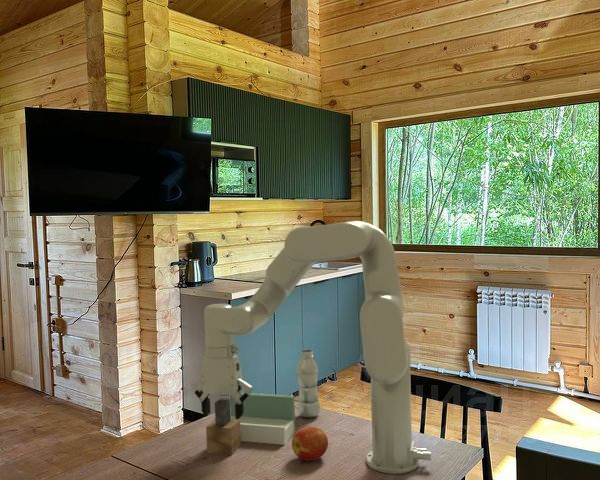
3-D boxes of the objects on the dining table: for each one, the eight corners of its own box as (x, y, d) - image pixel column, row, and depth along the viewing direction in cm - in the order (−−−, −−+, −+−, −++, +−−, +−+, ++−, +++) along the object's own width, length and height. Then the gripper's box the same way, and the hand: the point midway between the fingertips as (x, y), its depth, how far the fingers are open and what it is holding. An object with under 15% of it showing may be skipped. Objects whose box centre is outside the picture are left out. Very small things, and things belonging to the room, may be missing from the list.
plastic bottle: (318, 420, 161) (316, 353, 160) (296, 419, 163) (293, 353, 162) (321, 412, 168) (319, 348, 167) (300, 411, 169) (298, 348, 168)
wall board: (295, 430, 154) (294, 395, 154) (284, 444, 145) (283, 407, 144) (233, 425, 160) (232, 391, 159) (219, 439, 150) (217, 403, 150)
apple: (288, 456, 138) (287, 425, 137) (317, 449, 141) (316, 419, 141) (303, 469, 130) (302, 436, 130) (333, 461, 134) (332, 429, 134)
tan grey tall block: (240, 445, 145) (239, 397, 145) (232, 455, 140) (230, 405, 139) (216, 443, 147) (214, 396, 147) (207, 452, 142) (205, 403, 141)
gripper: (256, 349, 144) (258, 413, 144) (196, 346, 148) (199, 409, 149) (245, 356, 136) (248, 424, 137) (183, 353, 141) (186, 419, 142)
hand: (222, 416), depth 143 cm, fingers open, 8 cm apart
